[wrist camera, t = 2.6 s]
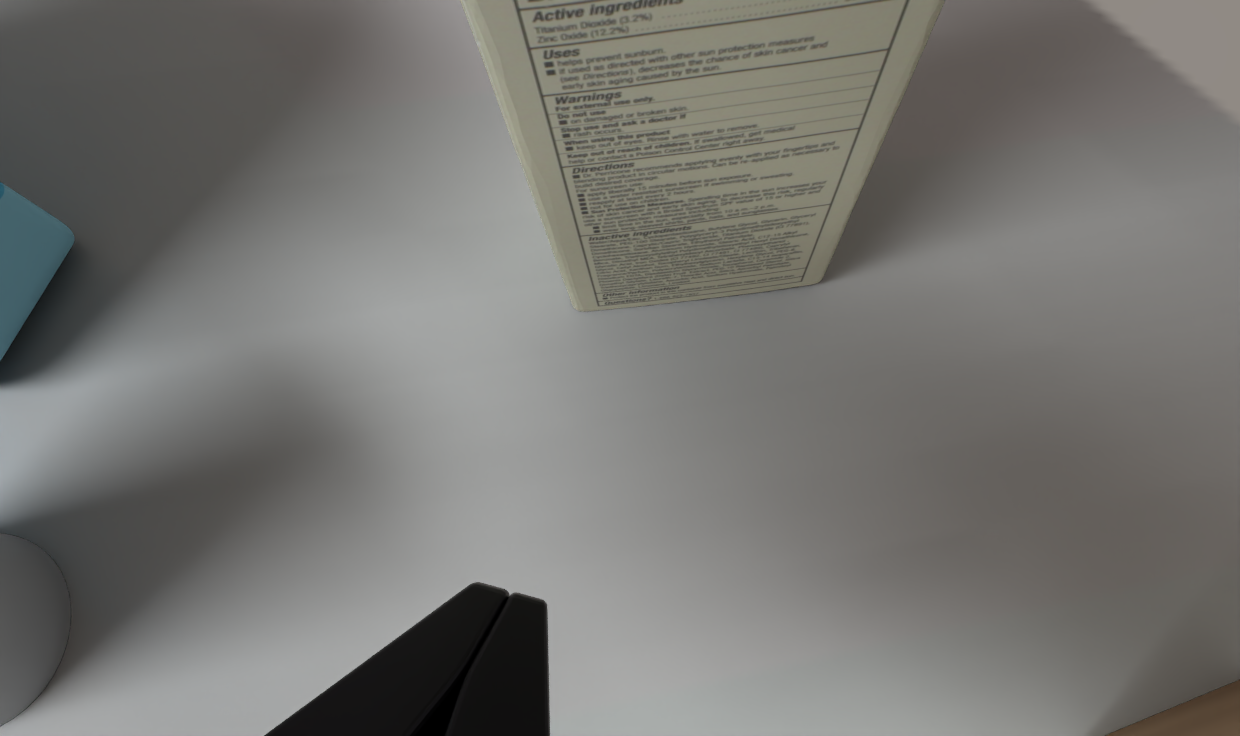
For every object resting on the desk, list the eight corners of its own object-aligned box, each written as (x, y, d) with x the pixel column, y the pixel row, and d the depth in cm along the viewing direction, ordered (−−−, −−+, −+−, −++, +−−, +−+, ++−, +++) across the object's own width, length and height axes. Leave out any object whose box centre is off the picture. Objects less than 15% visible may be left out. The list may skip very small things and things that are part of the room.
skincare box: (794, 132, 22) (944, -430, 10) (824, 294, 20) (1034, -134, 9) (549, 162, 22) (415, -360, 10) (564, 324, 21) (431, -58, 9)
